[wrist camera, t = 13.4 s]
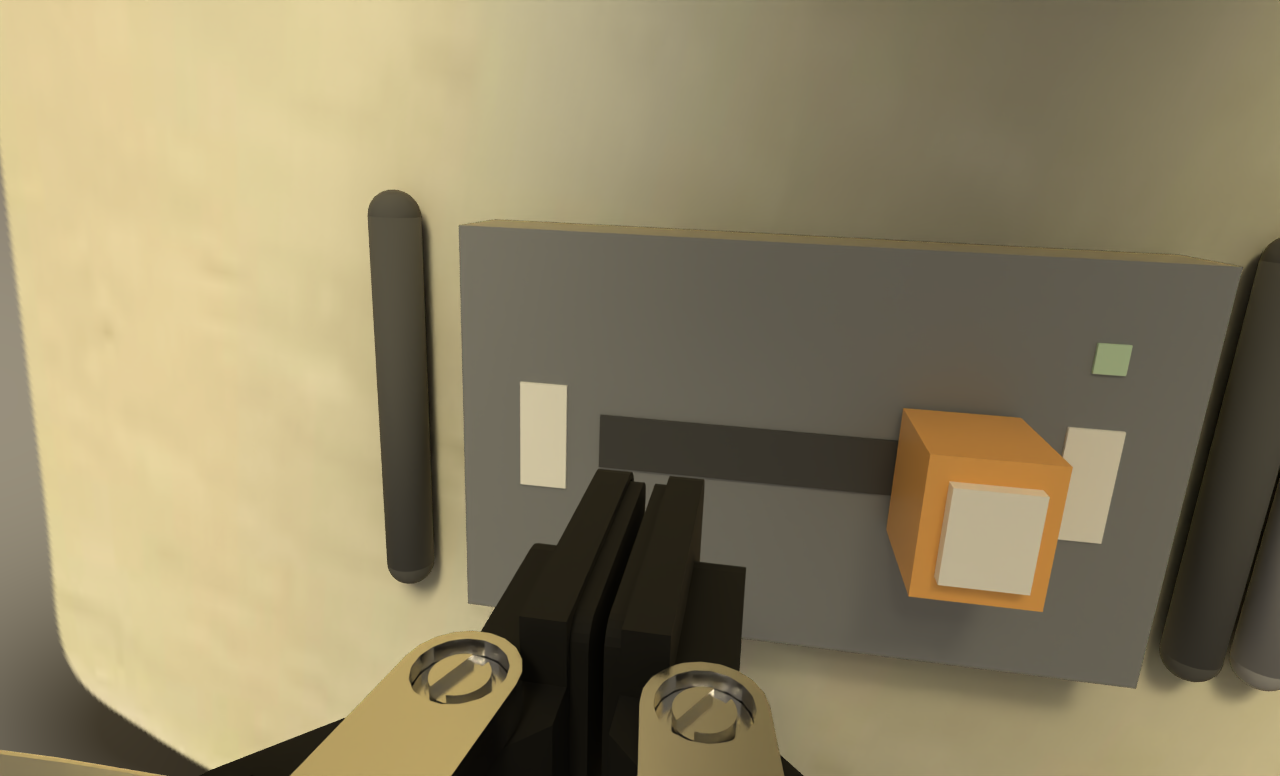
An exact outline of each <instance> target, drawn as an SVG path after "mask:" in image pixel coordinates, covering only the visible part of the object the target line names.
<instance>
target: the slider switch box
mask: <svg viewBox="0 0 1280 776" xmlns="http://www.w3.org/2000/svg"><path fill="white" fill-rule="evenodd" d="M459 252H460V293H461V333H462V374H463V414H464V455H465V495H466V536H467V577H468V604H476V605H483V606H491V607H496V605H497V604H498V602H499V600H500V599H501V597H502V595H503V594H504V592H505V590H506V589H507V587H508V585H509V584H510V582H511V580H512V579H513V577H514V575H515V573H516V572H517V570H518V568H519V567H520V565H521V563H522V562H523V560H524V558H525V557H526V555H527V553H528V552H529V550H530V548H531V547H532V546H533V545H534V543H543V544H552V545H557V544H558V542H559V540H560V538H561V536H562V534H563V533H564V531H565V529H566V527H567V525H568V523H569V521H570V519H571V518H572V516H573V514H574V512H575V510H576V508H577V506H578V505H579V503H580V501H581V499H582V497H583V495H584V493H585V491H586V490H587V488H588V486H589V484H590V482H591V480H592V478H593V476H594V475H595V473H596V471H597V470H598V469H607V470H617V471H627V472H633V475H634V481H635V482H645V485H646V501H645V511H646V508H647V505H648V502H649V499H650V497H651V494H652V491H653V488H654V485H655V484H665V485H667V482H668V479H669V476H677V477H687V478H697V479H704V480H705V488H704V505H703V520H702V536H701V552H700V562H707V563H715V564H724V565H732V566H741V567H746V579H745V594H744V608H743V623H742V639H750V640H758V641H766V642H774V643H782V644H789V645H797V646H805V647H813V648H821V649H829V650H837V651H844V652H852V653H860V654H868V655H876V656H884V657H891V658H899V659H907V660H915V661H923V662H931V663H939V664H946V665H954V666H962V667H970V668H978V669H986V670H993V671H1001V672H1009V673H1017V674H1025V675H1033V676H1041V677H1048V678H1056V679H1064V680H1072V681H1080V682H1088V683H1095V684H1103V685H1111V686H1119V687H1127V688H1135V689H1136V686H1137V682H1138V678H1139V675H1140V671H1141V667H1142V663H1143V659H1144V655H1145V651H1146V647H1147V643H1148V639H1149V635H1150V631H1151V627H1152V623H1153V619H1154V615H1155V612H1156V608H1157V604H1158V600H1159V596H1160V592H1161V588H1162V584H1163V580H1164V576H1165V572H1166V568H1167V564H1168V560H1169V556H1170V552H1171V548H1172V545H1173V541H1174V537H1175V533H1176V529H1177V525H1178V521H1179V517H1180V513H1181V509H1182V505H1183V501H1184V497H1185V493H1186V489H1187V485H1188V481H1189V478H1190V474H1191V470H1192V466H1193V462H1194V458H1195V454H1196V450H1197V446H1198V442H1199V438H1200V434H1201V430H1202V426H1203V422H1204V418H1205V414H1206V411H1207V407H1208V403H1209V399H1210V395H1211V391H1212V387H1213V383H1214V379H1215V375H1216V371H1217V367H1218V363H1219V359H1220V355H1221V351H1222V347H1223V344H1224V340H1225V336H1226V332H1227V328H1228V324H1229V320H1230V316H1231V312H1232V308H1233V304H1234V300H1235V296H1236V292H1237V288H1238V284H1239V280H1240V277H1241V273H1242V269H1243V267H1241V266H1236V265H1231V264H1225V263H1220V262H1215V261H1210V260H1204V259H1199V258H1194V257H1188V256H1183V255H1173V254H1154V253H1135V252H1115V251H1096V250H1077V249H1057V248H1038V247H1019V246H999V245H980V244H961V243H941V242H922V241H903V240H883V239H864V238H845V237H825V236H806V235H786V234H767V233H748V232H728V231H709V230H690V229H670V228H651V227H632V226H612V225H593V224H574V223H554V222H535V221H516V220H496V219H495V220H488V221H482V222H476V223H469V224H463V225H459ZM903 408H908V409H921V410H933V411H945V412H957V413H969V414H982V415H994V416H1006V417H1018V418H1022V419H1023V420H1024V421H1025V422H1026V423H1027V424H1028V425H1029V426H1030V427H1031V428H1032V429H1033V430H1034V431H1035V432H1036V433H1038V434H1039V435H1040V436H1041V437H1042V438H1043V439H1044V440H1045V441H1046V442H1047V443H1048V444H1049V445H1050V446H1051V447H1052V448H1053V449H1054V450H1055V451H1056V452H1057V453H1059V454H1060V455H1061V456H1062V457H1063V458H1064V459H1065V460H1066V461H1067V462H1068V463H1069V464H1070V465H1071V466H1072V467H1073V469H1072V474H1071V478H1070V483H1069V488H1068V493H1067V498H1066V502H1065V507H1064V512H1063V517H1062V522H1061V526H1060V531H1059V536H1058V541H1057V546H1056V550H1055V555H1054V560H1053V565H1052V570H1051V574H1050V579H1049V584H1048V589H1047V594H1046V598H1045V603H1044V608H1043V612H1038V611H1029V610H1021V609H1012V608H1004V607H995V606H986V605H978V604H969V603H960V602H952V601H943V600H935V599H926V598H917V597H909V596H908V594H907V591H906V588H905V585H904V582H903V579H902V576H901V573H900V570H899V567H898V564H897V561H896V558H895V555H894V552H893V549H892V546H891V543H890V540H889V537H888V534H887V531H886V527H887V520H888V513H889V506H890V499H891V492H892V484H893V477H894V470H895V463H896V456H897V449H898V442H899V434H900V427H901V420H902V413H903Z"/></svg>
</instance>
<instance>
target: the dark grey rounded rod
mask: <svg viewBox="0 0 1280 776" xmlns="http://www.w3.org/2000/svg"><path fill="white" fill-rule="evenodd" d="M368 230H369V247H370V265H371V283H372V300H373V318H374V336H375V354H376V371H377V389H378V407H379V425H380V442H381V460H382V478H383V496H384V513H385V531H386V549H387V565H388V569H389V571H390V573H391V575H392V576H393V577H394V578H395V579H396V580H398V581H400V582H402V583H407V584H411V583H416V582H419V581H421V580H423V579H424V578H425V577H427V575H428V574H429V573H430V572H431V570H432V568H433V564H434V541H433V515H432V488H431V462H430V435H429V409H428V382H427V356H426V329H425V303H424V276H423V249H422V223H421V211H420V209H419V206H418V204H417V203H416V201H415V200H414V199H413V198H412V197H411V196H410V195H408V194H407V193H405V192H402V191H399V190H387V191H383V192H381V193H379V194H378V195H376V196H375V197H374V198H373V200H372V201H371V203H370V205H369V209H368Z"/></svg>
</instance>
